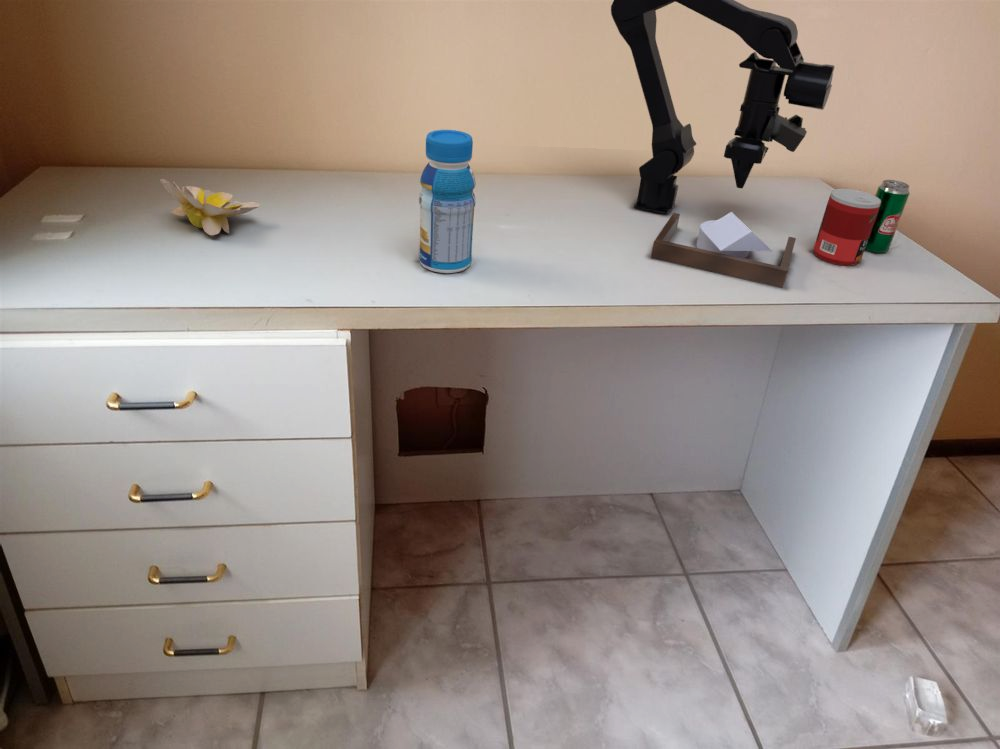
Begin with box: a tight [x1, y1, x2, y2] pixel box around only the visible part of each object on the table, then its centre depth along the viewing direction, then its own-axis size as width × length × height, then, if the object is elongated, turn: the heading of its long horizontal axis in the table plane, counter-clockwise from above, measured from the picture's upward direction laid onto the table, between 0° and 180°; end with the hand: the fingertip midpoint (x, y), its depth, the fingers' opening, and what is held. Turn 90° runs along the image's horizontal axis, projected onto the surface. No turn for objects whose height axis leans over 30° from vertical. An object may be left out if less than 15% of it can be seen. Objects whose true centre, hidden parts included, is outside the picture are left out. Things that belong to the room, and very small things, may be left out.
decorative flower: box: [159, 178, 261, 236], centre depth 126 cm, size 15×11×10 cm
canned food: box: [813, 188, 881, 267], centre depth 132 cm, size 8×8×11 cm
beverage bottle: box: [418, 129, 477, 274], centre depth 117 cm, size 8×8×20 cm
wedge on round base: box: [695, 211, 773, 259], centre depth 132 cm, size 9×7×13 cm
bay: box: [650, 212, 797, 288], centre depth 132 cm, size 21×15×3 cm
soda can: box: [864, 179, 910, 254], centre depth 137 cm, size 5×5×12 cm
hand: (739, 187), depth 141 cm, fingers closed
